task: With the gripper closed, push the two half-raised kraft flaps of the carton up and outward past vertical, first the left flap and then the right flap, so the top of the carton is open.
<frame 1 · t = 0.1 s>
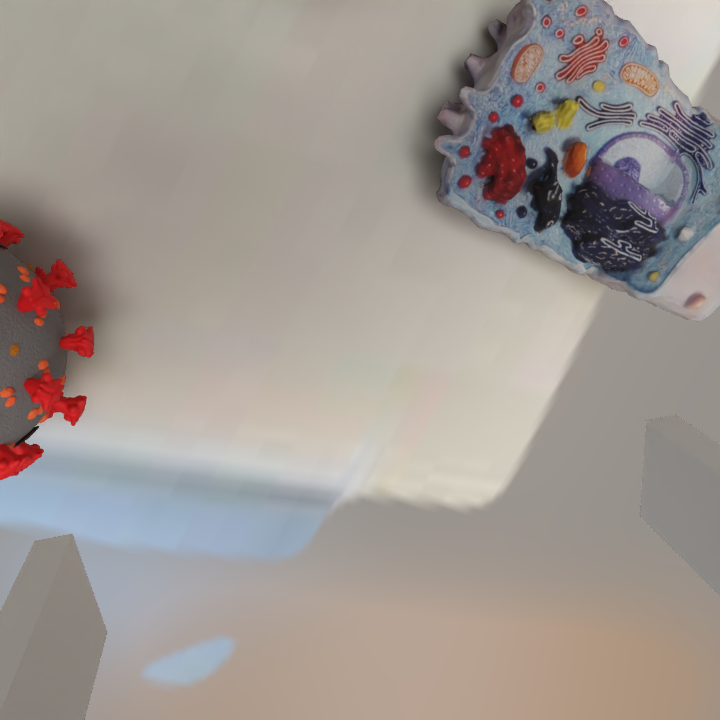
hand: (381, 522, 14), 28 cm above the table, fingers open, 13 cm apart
cell model: (562, 157, 41), on the table
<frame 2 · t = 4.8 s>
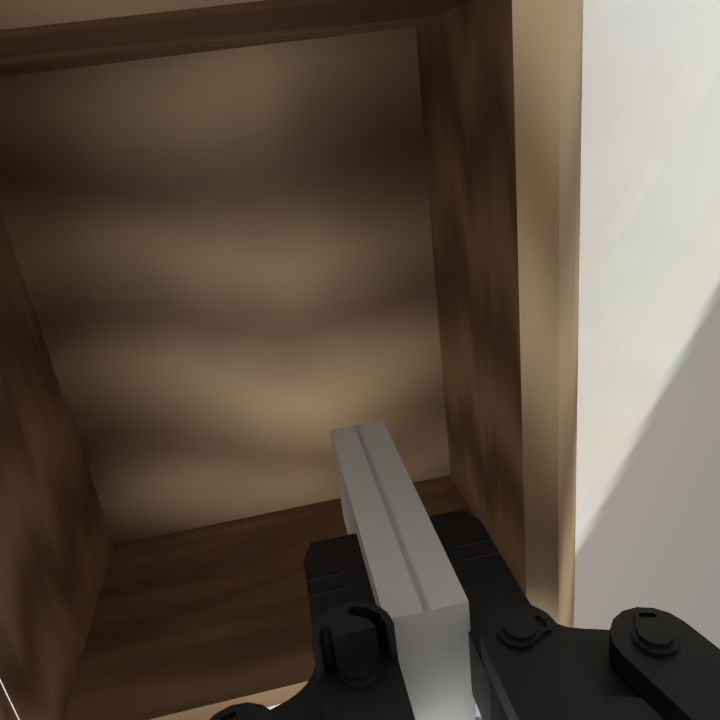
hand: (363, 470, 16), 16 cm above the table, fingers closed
carton: (248, 309, 30), on the table
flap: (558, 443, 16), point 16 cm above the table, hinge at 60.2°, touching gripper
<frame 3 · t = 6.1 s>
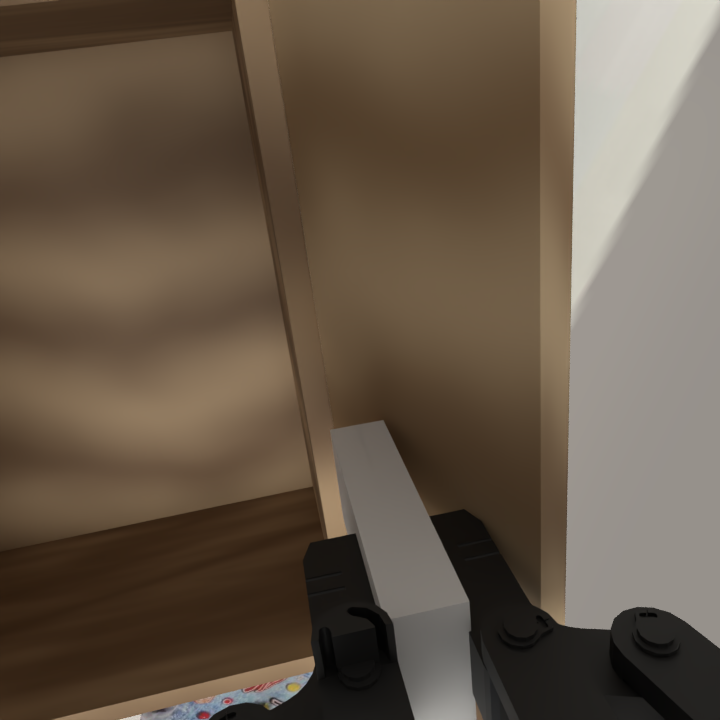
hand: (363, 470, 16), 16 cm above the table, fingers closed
carton: (84, 320, 29), on the table
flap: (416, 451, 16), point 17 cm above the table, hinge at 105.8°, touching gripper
cell model: (312, 644, 40), on the table
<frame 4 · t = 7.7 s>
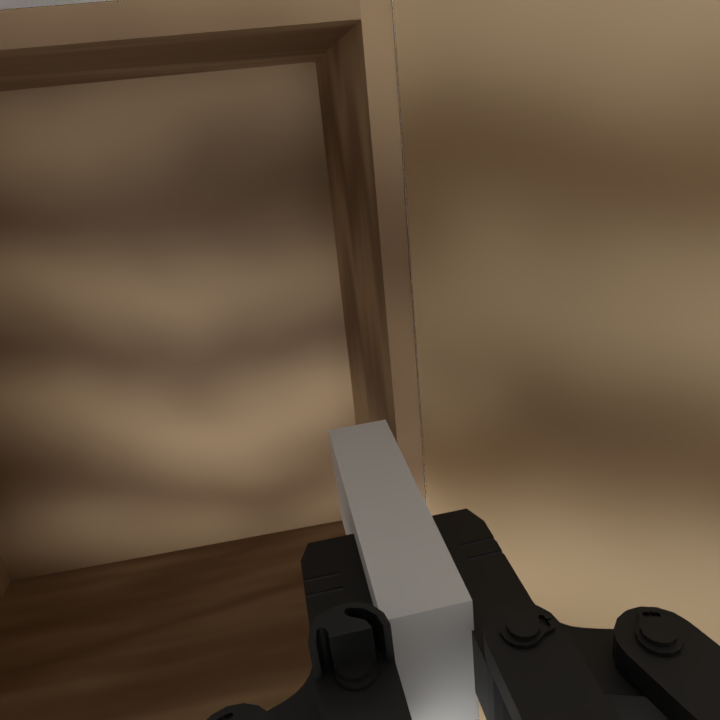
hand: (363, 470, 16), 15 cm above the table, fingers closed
carton: (149, 343, 29), on the table
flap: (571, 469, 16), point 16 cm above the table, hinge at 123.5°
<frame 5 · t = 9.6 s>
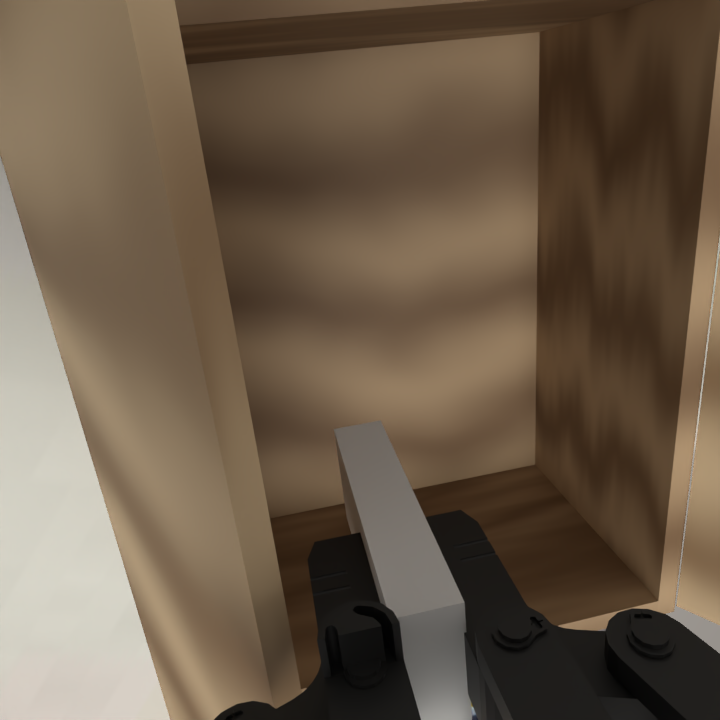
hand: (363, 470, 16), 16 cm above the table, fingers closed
carton: (358, 299, 31), on the table
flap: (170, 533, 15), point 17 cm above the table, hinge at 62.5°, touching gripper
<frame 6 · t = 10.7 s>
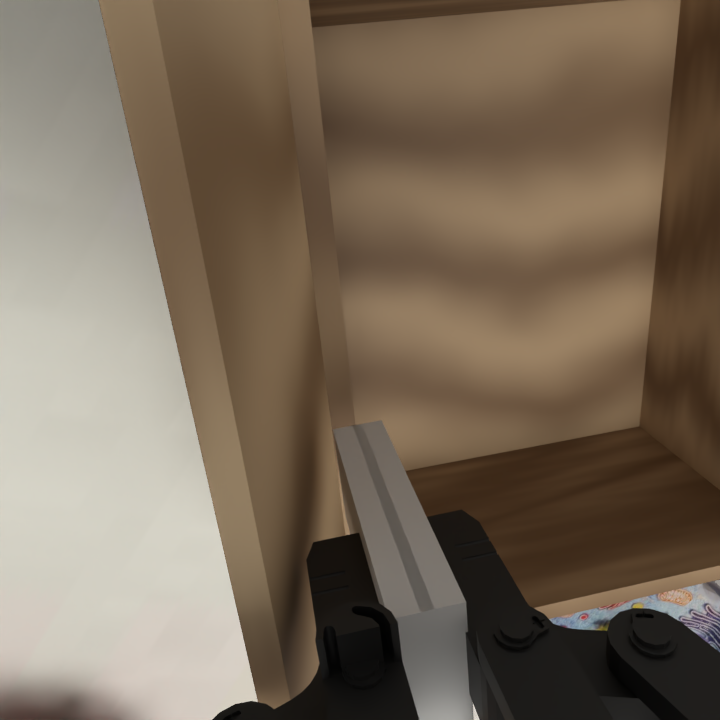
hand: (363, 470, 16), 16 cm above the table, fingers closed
carton: (485, 260, 32), on the table
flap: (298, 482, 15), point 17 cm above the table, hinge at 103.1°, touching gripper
cell model: (592, 581, 43), on the table
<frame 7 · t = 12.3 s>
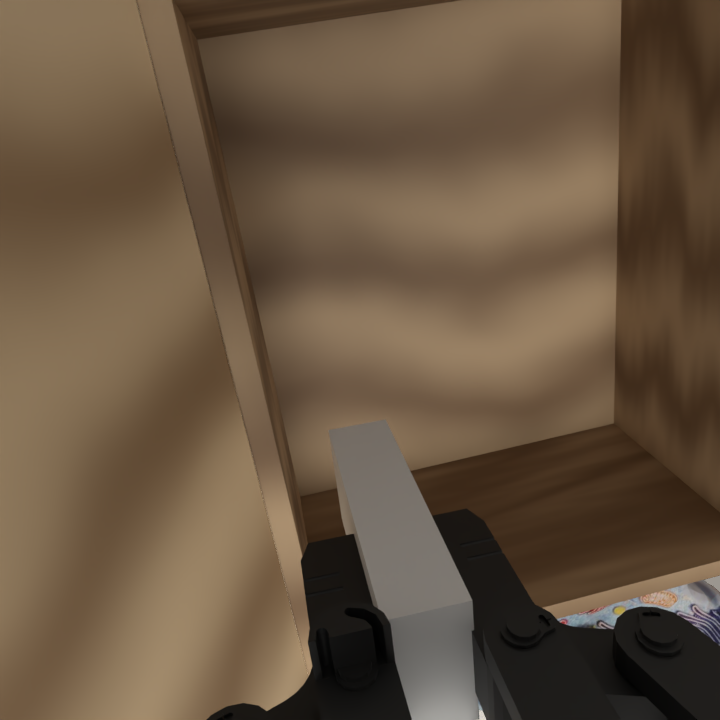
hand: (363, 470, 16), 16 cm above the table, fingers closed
carton: (437, 262, 31), on the table
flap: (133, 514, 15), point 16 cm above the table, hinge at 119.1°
cell model: (580, 582, 42), on the table
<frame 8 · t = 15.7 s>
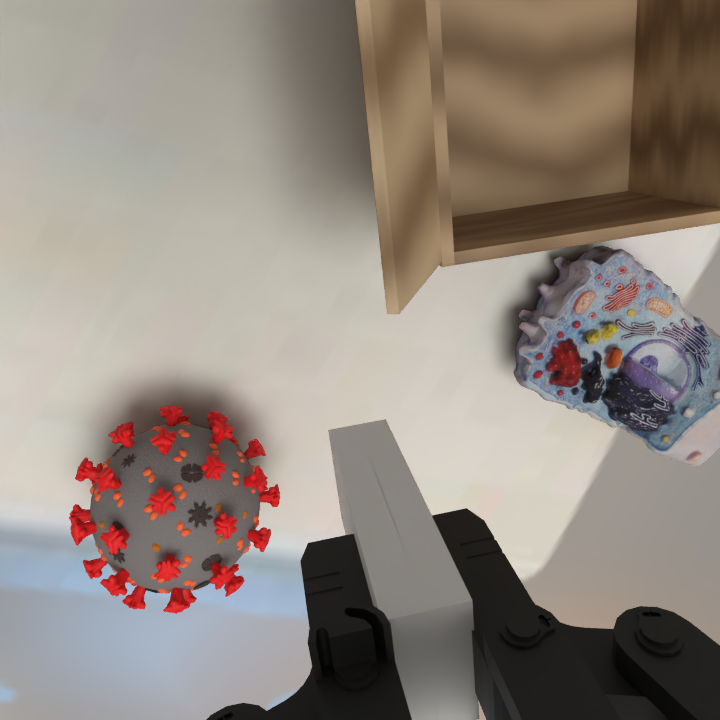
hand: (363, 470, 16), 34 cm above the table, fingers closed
carton: (514, 52, 46), on the table
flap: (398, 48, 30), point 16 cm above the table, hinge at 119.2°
virus model: (186, 453, 53), on the table
cell model: (599, 334, 56), on the table
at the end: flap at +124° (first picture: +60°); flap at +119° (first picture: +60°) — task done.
